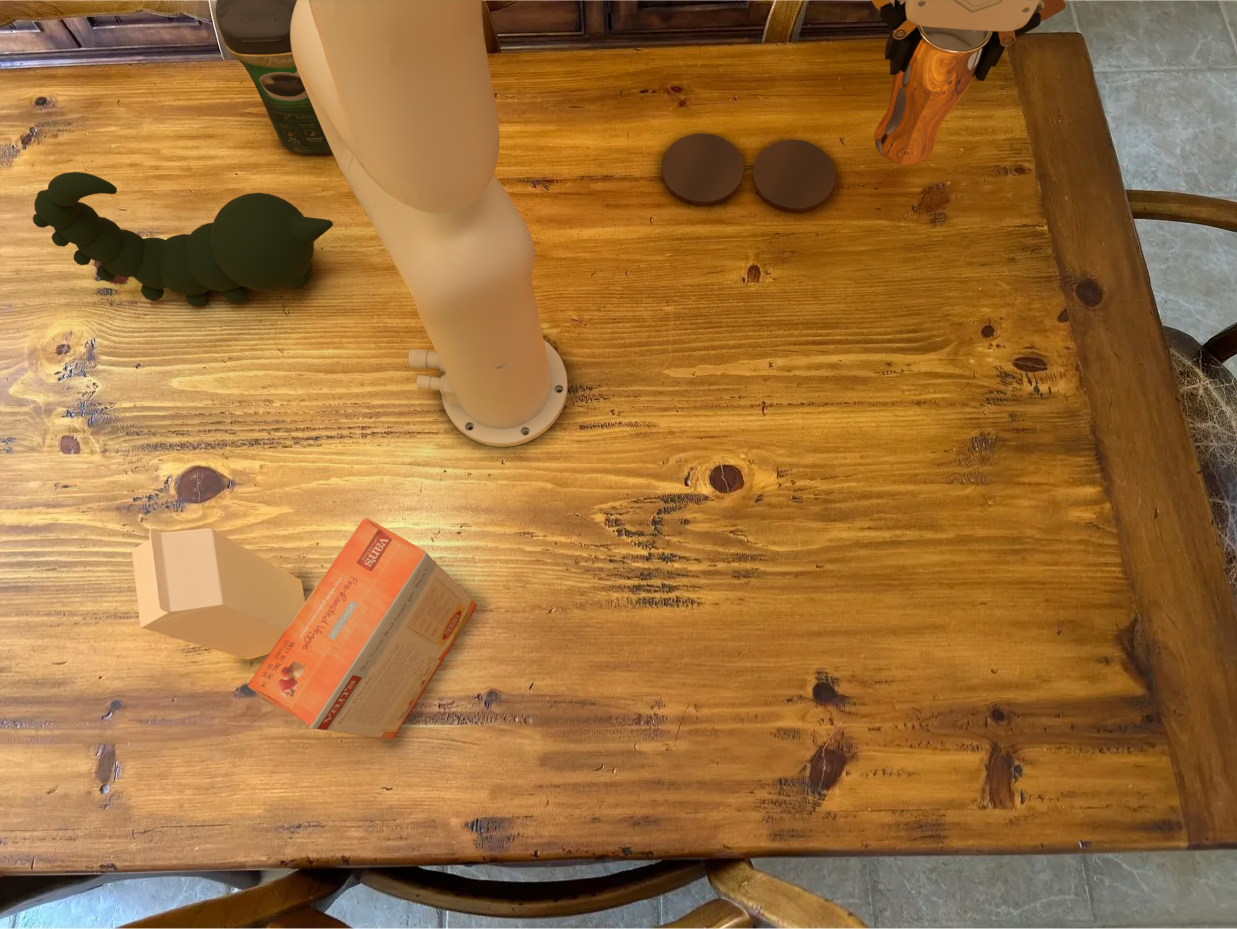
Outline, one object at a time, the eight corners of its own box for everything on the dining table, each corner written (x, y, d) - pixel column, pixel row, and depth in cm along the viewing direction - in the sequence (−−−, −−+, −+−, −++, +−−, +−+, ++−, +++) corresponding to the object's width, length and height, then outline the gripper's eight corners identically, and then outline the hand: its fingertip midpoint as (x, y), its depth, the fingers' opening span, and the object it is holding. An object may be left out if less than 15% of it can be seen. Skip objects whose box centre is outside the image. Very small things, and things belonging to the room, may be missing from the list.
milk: (248, 660, 81) (112, 623, 60) (238, 597, 82) (103, 539, 62) (314, 641, 81) (202, 597, 60) (303, 578, 83) (190, 515, 62)
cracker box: (426, 573, 83) (363, 510, 63) (480, 605, 82) (432, 552, 62) (337, 706, 79) (240, 684, 59) (393, 742, 78) (312, 731, 58)
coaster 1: (658, 202, 96) (658, 198, 95) (664, 135, 99) (665, 130, 98) (741, 208, 96) (741, 204, 95) (745, 140, 99) (745, 135, 98)
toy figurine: (134, 333, 94) (363, 308, 92) (-3, 231, 76) (278, 196, 74) (144, 256, 97) (366, 230, 95) (15, 141, 79) (285, 105, 77)
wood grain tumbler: (935, 174, 88) (993, 59, 74) (865, 163, 89) (910, 47, 75) (941, 118, 91) (998, -3, 76) (873, 108, 91) (918, -15, 77)
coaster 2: (750, 209, 96) (751, 205, 95) (754, 141, 99) (755, 136, 98) (833, 215, 95) (835, 211, 95) (835, 147, 98) (836, 142, 98)
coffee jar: (368, 99, 101) (313, -42, 84) (364, 156, 99) (306, 23, 81) (284, 102, 101) (211, -38, 84) (277, 159, 99) (201, 27, 81)
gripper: (895, -91, 63) (839, 92, 80) (1145, -76, 62) (1035, 105, 79) (894, -165, 65) (840, 27, 82) (1135, -152, 64) (1030, 39, 81)
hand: (936, 64), depth 80 cm, fingers closed on wood grain tumbler, 7 cm apart
